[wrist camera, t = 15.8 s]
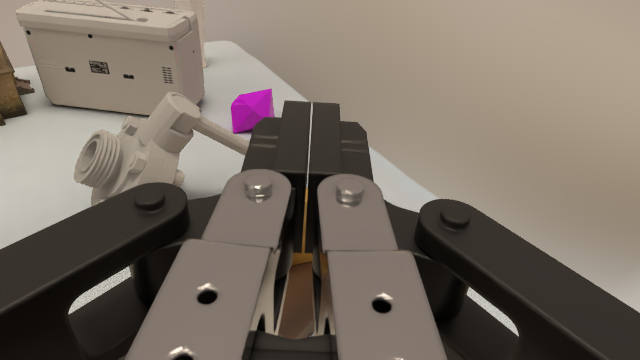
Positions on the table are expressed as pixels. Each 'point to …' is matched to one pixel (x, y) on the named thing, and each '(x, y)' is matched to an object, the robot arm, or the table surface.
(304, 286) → the panel
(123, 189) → the valve
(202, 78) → the radio
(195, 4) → the perfume bottle
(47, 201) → the table surface
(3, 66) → the miniature house
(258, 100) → the crystal
